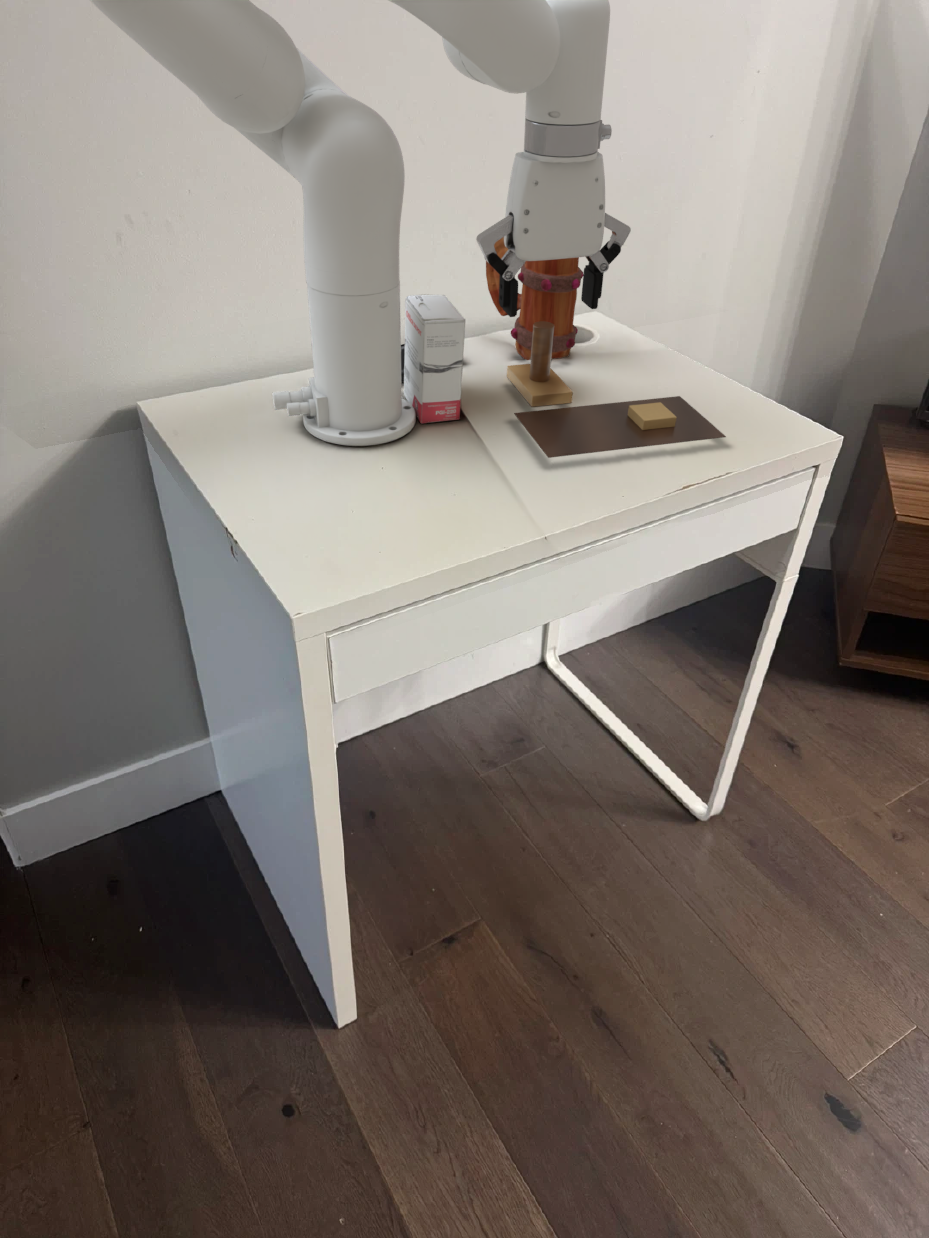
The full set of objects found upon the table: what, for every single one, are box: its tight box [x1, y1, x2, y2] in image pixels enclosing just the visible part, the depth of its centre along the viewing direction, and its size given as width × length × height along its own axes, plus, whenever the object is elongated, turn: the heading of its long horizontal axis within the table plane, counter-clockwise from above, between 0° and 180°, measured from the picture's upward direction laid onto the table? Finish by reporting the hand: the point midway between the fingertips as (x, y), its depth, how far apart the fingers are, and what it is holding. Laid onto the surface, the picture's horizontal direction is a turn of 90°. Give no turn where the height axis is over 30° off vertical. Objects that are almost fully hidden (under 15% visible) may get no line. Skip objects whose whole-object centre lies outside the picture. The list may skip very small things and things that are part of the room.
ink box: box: [403, 293, 466, 424], centre depth 99 cm, size 9×5×12 cm, turn 17°
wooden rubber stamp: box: [506, 321, 574, 408], centre depth 103 cm, size 5×9×9 cm, turn 17°
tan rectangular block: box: [628, 402, 677, 430], centre depth 99 cm, size 4×4×1 cm
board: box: [514, 395, 727, 459], centre depth 99 cm, size 21×11×1 cm, turn 107°
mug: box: [485, 237, 584, 361], centre depth 113 cm, size 15×8×15 cm, turn 46°
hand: (549, 309), depth 99 cm, fingers open, 9 cm apart
